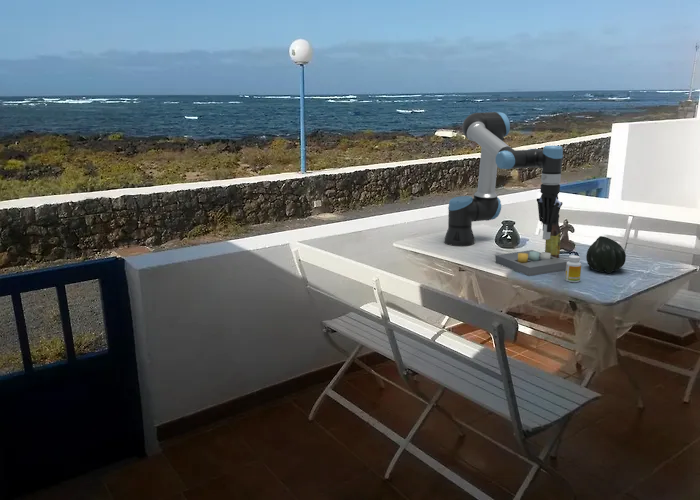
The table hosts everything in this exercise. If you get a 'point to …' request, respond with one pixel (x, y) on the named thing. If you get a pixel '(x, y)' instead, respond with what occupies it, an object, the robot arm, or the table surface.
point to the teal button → (534, 256)
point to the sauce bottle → (554, 240)
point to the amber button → (522, 257)
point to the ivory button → (545, 255)
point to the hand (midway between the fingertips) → (546, 238)
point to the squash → (605, 255)
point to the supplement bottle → (573, 269)
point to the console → (531, 264)
